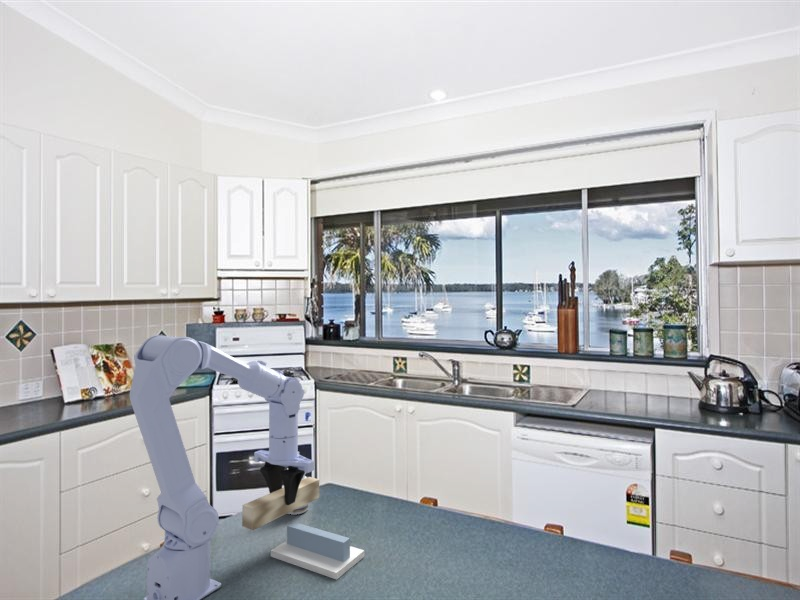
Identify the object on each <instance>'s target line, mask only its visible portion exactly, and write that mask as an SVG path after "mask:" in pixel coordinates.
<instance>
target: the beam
mask: <svg viewBox="0 0 800 600" xmlns="http://www.w3.org/2000/svg"><path fill="white" fill-rule="evenodd" d="M318 499H320V479H319V478H314V477H312V476H307V478H305V479H303V480H301V482H300V485H299V488H298V491H297V495H296V499H295V502H294V503H292V504H290V505H286V503H285V490H284V487H282V489H279V490H277V491H274V492H272V493H270V492H269V493H268V494H266V495H263V496H260V497H258V498H255V499H253V500H251V501H249V502H246V503H244V504H242V509H241V510H242V512H241V513H242V514H241V515H242V517H241V519H242V523H241V525H242V527H244V528H246V529H248V530H251V531H254V530H256V529H258V528H260V527H262V526H265V525H266V524H267V525H268V523H271V522H272V521H275V520H277V519H279V518H281V517H282V516H285V515H288V514H287V513H289V512H291V511H293V510H295V509H297V508H299V507H301V506H304V505H306V504H308V505H309V503H311V502H313V501H316V500H318Z"/></svg>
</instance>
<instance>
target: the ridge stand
mask: <svg viewBox="0 0 800 600" xmlns="http://www.w3.org/2000/svg"><path fill="white" fill-rule="evenodd" d="M365 554H366V553H365V549H362V548H358V547H355V546H351V538H350V537H347V536H344V535H340V534H337V533H334V532H329V531H327V530H323V529H320V528H316V527H312V526H310V525H305V524H303V523H300V522H299V523H298V522H296V521H293V522H291V523H289V524H287V526H286V540H285V541H284V542H282V543H280V544H278V545H277V546H275V547H274V548H272V549H271V550H270V558H274V559H277V560H280V561H282V562H285V563H288V564H291V565H293V566H294V565H295V566H297V567H300V568H303V569H305V570H308V571H311V572H313V573H317V574H319V575H321V576H324V577H325V576H326V577H328V578H331V579H334V580H338V579H339V578H340V577H341V576H342V575H345V573H347V572H348V571H349V570H350V569H352V568H353V566H355V565H356V564H357V563H359V562H360V561H361V560H362V559H363V558H365Z"/></svg>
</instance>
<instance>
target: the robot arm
mask: <svg viewBox="0 0 800 600" xmlns="http://www.w3.org/2000/svg"><path fill="white" fill-rule="evenodd" d="M134 364H135V367H134V371H133V375H132V380H131V383H130V384H131V385H130V391H129V401H130V404H131V407H132V409H133V413H134V416H135V418H136V421H137V424H138V428H139V431H140V433H141V437H142V439H143V442H144V445H145V448H146V451H147V455H148V457H149V460H150V463H151V466H152V469H153V471H154V476H155V479H156V481H157V484H158V487H159V490H160V494H159V495H157V498H156V501H157V504H158V512H157V517H156V518H157V524H158V526H159V527H160V528H161V529H162V530H163V531H164V538H163V539H164V540H163V541H164V543H163V545H162V546H161V548H160V549H158V551H156V552H154V554H152V555H151V556H150V557H149V558H148V560H147V564H146V596H144V598H143V600H202V599H204V598H205V597H207V596H208V595H210V594H211V593H213V592H215V591H216V590H218V589H220V588H221V587H222V583H221V582H220V581H217V580H215V579H213V578H211V542H212V537H213V536H214V535H215V533H216V531H217V529H218V525H219V520H220V519H219V513H218V511H217V509H216V508H215V507H213V506H212V505H211V504H210V503H209V500H208V497H207V495H206V494H205V493H204V492H203V490H202V489H201V488H200V486H199V485H198V484H197V483H196V480H195V476H194V474H193V470H192V467H191V464H190V462H189V457H188V454H187V451H186V448H185V445H184V442H183V439H182V436H181V433H180V430H179V426H178V423H177V420H176V417H175V414H174V411H173V407H172V403H171V401H170V398H171V397H172V395H173V393H174V392H175V390H176V389H177V388H178V387H179V386H180V385H181V384H182V383H184V381H186V380H187V379H188V378H189V377H190V376H191V375H192V374H193V373H194V372H195V371H196V370H204V369H209V370H211V371H215V372H217V373H219V374H223V375H225V376H228V377H230V378H233V379H235V380H237V384H238V386H239V388H240V389H241V390H244V391H246V392H248V393H250V394H253V395H256V396H258V397H261V398H263V399H264V400H265V401H266V402H267V403H269V405H268V406H269V411H268V413H269V414H268V417H269V418H268V419H269V422H268V423H269V424H268V431H269V433H268V450H264V449H260V450H257V451H255V452H254V454H253V461H254V462H255V463H259V462H262V463H264V465H263V466H262V467H260V468H259V469H260V473H261V475H262V476H263V478H264V480H265V482H266V483H265V484H266V486H267V487H268V492H269V494H270V493H272V492H274V491H277V490H279V489H282V488H284V490H285V503H286V505H290V504H292V503H294V502H295V499H296V495H297V491H298V488H299V485H300V482H301V480H302V478H303V476H304V474H305V472H306V474H308V473H311V472H313V471H315V460H313V459H310V458H307V457H305V456H303V455H301V454H300V451H298V450H299V449H298V448H299V444H298V443H299V441H298V439H299V438H298V437H299V435H298V434H299V433H298V431H299V430H298V429H299V411H300V410H301V409H300V404H301V402H302V401H303V398H304V395H305V389H304V388H303V385H302V384H301V382H300V379H298V378H297V377H292V376H285V375H284V371H283V370H280V369H277V370H275V369H272V368H270V367H269V366H267V362H266V361H264V360H259V359H258V360H257V361H256V360H253V361H249V362H247V363H245V362H244V361H241V360H239V359H238V358H236V357H233V356H232V355H229V354H228V353H226V352H224V351H222V350H220V349H218V348H216V347H215V346H213V345H210V344H209V343H206V342H203V341H199V340H195V339H194V338H192V337H189V336H179V337H178V336H170V335H169V336H168V335H163V334H157V335H152V336H150V337H149V338H147V339H146V340H144V341H143V343H142V344H141V346H140V347H139V348H138V350H137V351H136V352H135V354H134ZM287 468H288V469H287ZM286 469H287V470H286ZM306 474H305V475H306Z"/></svg>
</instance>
